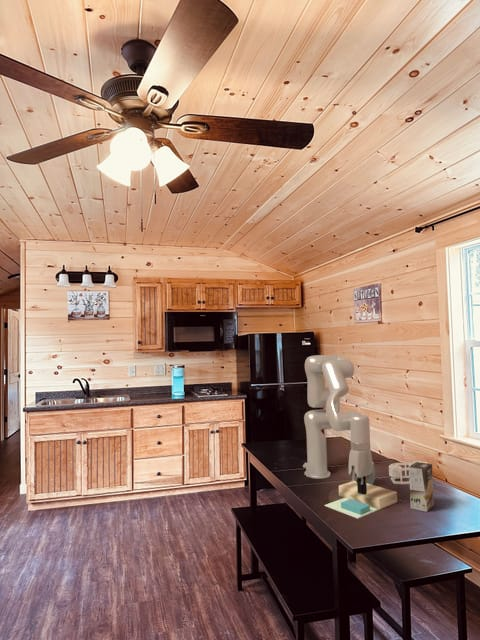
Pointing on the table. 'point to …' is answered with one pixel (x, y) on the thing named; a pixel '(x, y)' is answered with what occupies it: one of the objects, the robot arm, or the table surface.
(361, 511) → the teal flat block
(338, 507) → the mat
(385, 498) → the deck
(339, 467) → the table surface
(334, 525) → the table surface
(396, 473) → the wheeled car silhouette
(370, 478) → the cup
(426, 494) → the coffee box
